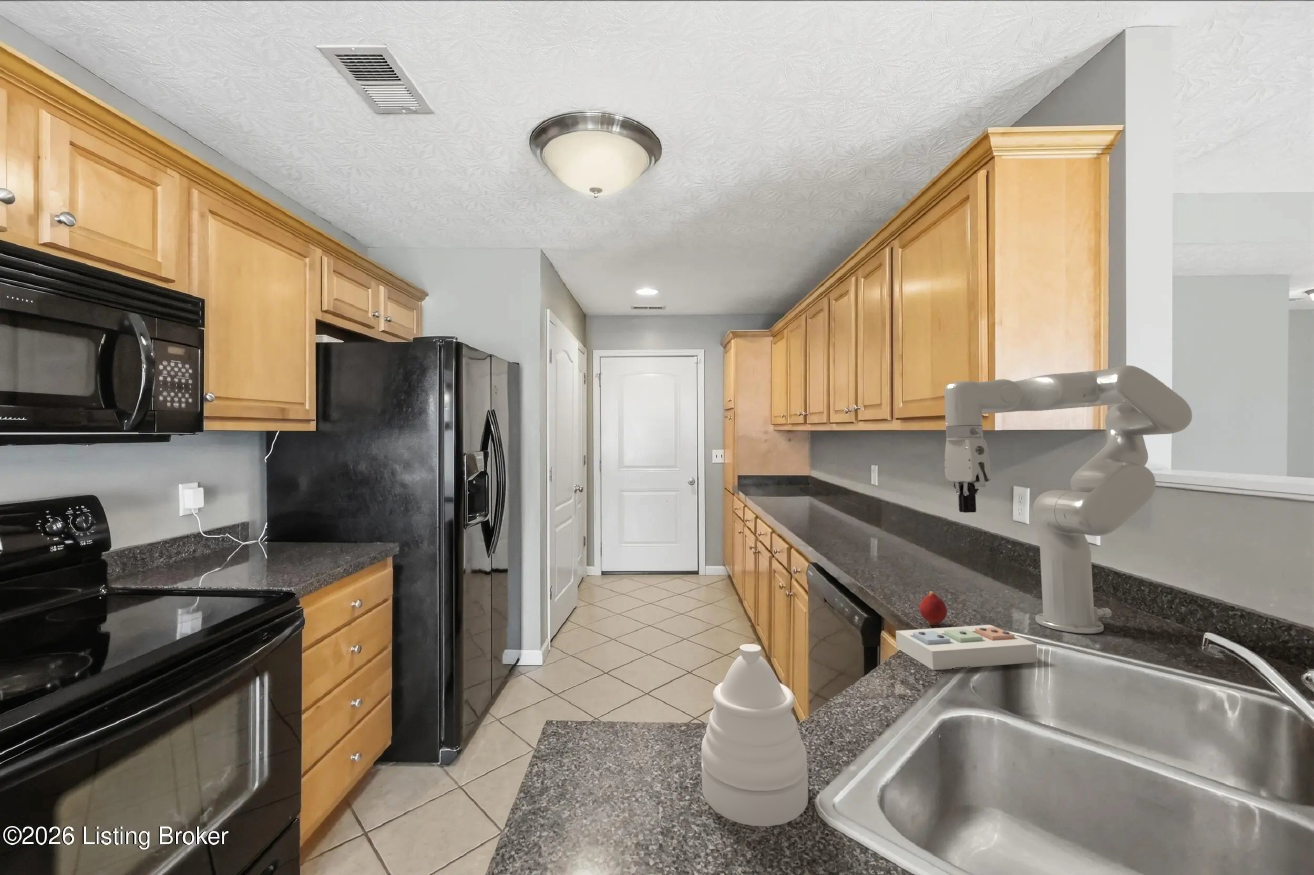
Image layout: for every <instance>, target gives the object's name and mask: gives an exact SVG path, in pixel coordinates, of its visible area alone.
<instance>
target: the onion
mask: <svg viewBox="0 0 1314 875" xmlns="http://www.w3.org/2000/svg"><path fill="white" fill-rule="evenodd" d="M919 603H920V604H919V606H918V607H919V612H920V615H921V617H923V618H924V620H926V622H928V623H929V624H930V625H931V626H936V625H939V624H941V623H942V622H944V620H946V618H947V615H948V609H947V605H946V603H945V602H944V601H943V599H942V598H940V596H938V595H937V594H936V593H934V591H931V590H930V591H928V595H926V596H925V597H924V598H922V599H921V601H920V602H919Z"/></svg>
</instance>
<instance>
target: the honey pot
mask: <svg viewBox="0 0 1314 875" xmlns="http://www.w3.org/2000/svg"><path fill="white" fill-rule="evenodd" d="M739 653H740V655H739V656H738V657H737V658H736V659H735V660H734V661H733V663H732V664H731V666H730V668H729V669H728V670H727V672H726V675H725V677H724V679H723V681H722V682H720V683H719V684H717V685H716V686H715V688H714V689H713V692H712V698H713V699H712V700H713V702H714V705H713V708H712V710H711V712H710V714H709V716H708V724H707V725H706V729H705V734H704V736H703V738H702V740H701V754H700V756H701V787H702V788H701V789H702V796H703V797H704V799H705V800H704V801H705V802H706V803H707V804H708V805H709V806H710V807H711V808H712V810H713V811H714V812H716V813H718V814H720V815H721V816H722V817H723V818H726V819H728V820H731V821H733V822H736V823H738V824H742V825H748V826H753V827H772V826H779V825H784V824H786V823H788V822H791V821H793V820H796V819H797V818H798V817H799V816H801V815H802V814H803V813H804V812H805V809H806V808H807V806H808V803H809V782H808V781H809V780H808V777H809V776H808V759H807V757H808V752H807V749H806V746H805V744H804V742H803V740H802V736H801V733H800V730H799V728H798V722H797V720H796V717H795V716H794V715H793V713H792V709H793V707H794V706H795V703H796V697H795V695H794V693H793V691H792V690H791V689H790V688H789V687H788V686H786V685H784V684H783V683H781V682H780V681H779V680H778V677H777V676H776V674H775V672H774V670H773V668H771V665H770V664H769V663H768V662H767V660H766V659H765V658H763V656H762V655H761V653H762V646H760V645H759V644H755V643H746V644H745V643H744V644H741V645H740V646H739Z"/></svg>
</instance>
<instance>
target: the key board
mask: <svg viewBox="0 0 1314 875" xmlns="http://www.w3.org/2000/svg"><path fill="white" fill-rule="evenodd" d="M990 627H995V626H994V625H991V624H983V625H968V626H967V625H964V626H951V627H935V628H922V629H921V628H920V629H918V628H917V629H906V630H903V629H902V630H895V647H896V649H897V650H899V651H901V652H903V653H904V654H906V655H907V656H909V657H911V658H913V659H915V660H916V661H917V662H919V663H921V664H923V665H924V666H925V667H927V668H929V669H930V670H932V671H936V670H938V671H939V670H948V669H949V670H950V669H951V670H952V668H954V669H956V668H955V667H963V666H970V667H969V668H976V667H977V668H979V667H980V668H981V667H992V666H1003V665H1004V666H1005V665H1018V664H1029V663H1033V664H1034V663H1038V645H1037V643H1035V642H1033V641H1031V640H1028V639H1027V638H1024V637H1021V636H1019V635H1016V634H1014V639H1010V640H995V641H992V640H990V639H987V638H985V637H983V636H982V637H983V641H981V642H967V643H959V642H957V641H955V640H953V639H951V638H950V644H938V645H926V644H924V643H922V642H920V641H919V640H917V639H915V638H913V632H924V631H936V632H938V633H940V634H942V635H944V630H956V629H967V630H969V631H971V632H973V633H975V628H990ZM978 635H979V634H978ZM944 636H945V635H944ZM980 636H981V635H980ZM946 637H947V636H946ZM948 638H949V637H948Z"/></svg>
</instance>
